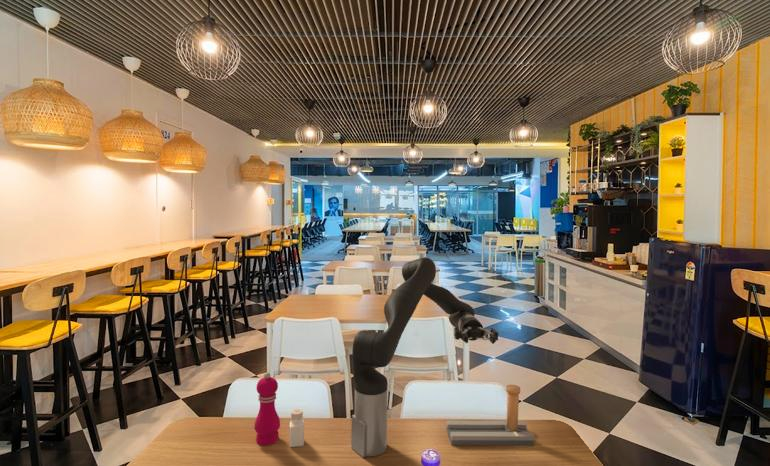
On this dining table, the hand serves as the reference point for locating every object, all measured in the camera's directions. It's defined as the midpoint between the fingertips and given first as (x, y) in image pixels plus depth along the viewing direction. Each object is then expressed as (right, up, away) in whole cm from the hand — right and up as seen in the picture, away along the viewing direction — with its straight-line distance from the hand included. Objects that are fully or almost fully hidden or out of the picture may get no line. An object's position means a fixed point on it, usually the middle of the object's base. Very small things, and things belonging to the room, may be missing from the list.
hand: (480, 340), depth 139 cm
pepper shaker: (-56, -26, -16) cm, 64 cm away
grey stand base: (0, -26, -11) cm, 28 cm away
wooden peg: (+7, -25, -10) cm, 28 cm away
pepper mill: (-65, -26, -14) cm, 71 cm away
